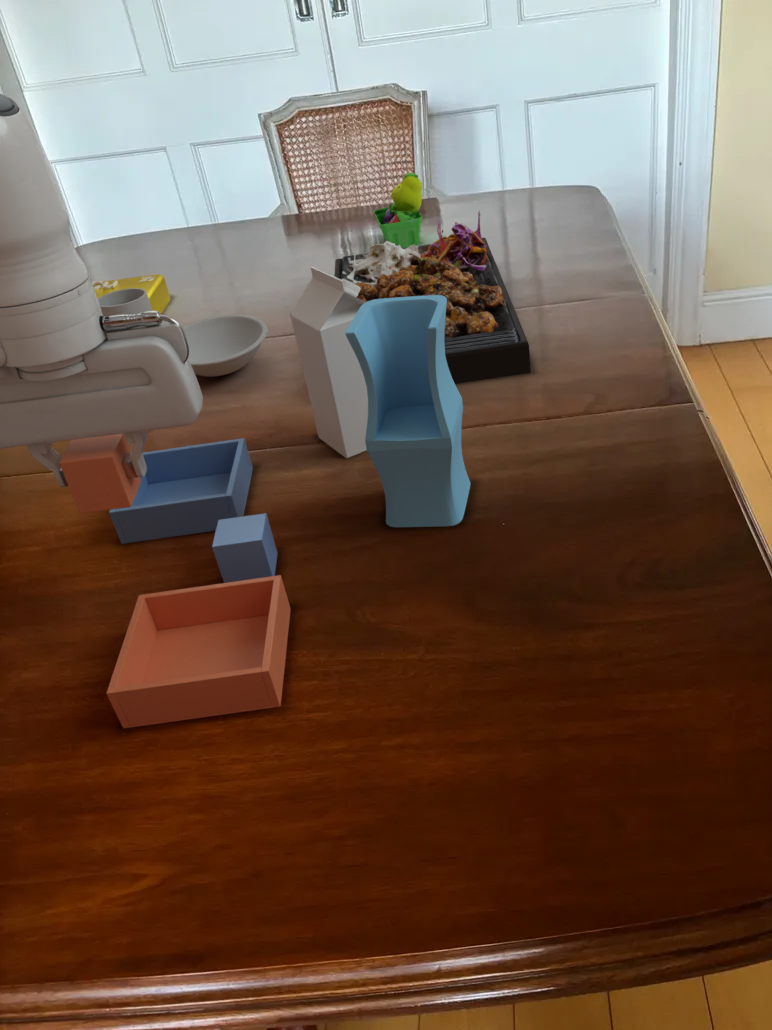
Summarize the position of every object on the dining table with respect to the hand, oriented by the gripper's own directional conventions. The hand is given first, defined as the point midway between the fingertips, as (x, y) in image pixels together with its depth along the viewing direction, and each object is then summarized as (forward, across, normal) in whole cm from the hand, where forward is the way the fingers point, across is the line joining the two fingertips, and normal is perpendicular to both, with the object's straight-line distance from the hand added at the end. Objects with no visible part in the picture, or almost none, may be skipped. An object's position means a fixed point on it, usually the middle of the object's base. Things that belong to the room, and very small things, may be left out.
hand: (103, 479), depth 78 cm
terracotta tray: (+11, -9, +14) cm, 20 cm away
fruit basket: (+11, -29, -98) cm, 103 cm away
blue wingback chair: (+11, -28, -6) cm, 30 cm away
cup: (+12, +13, -59) cm, 62 cm away
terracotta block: (+2, 0, 0) cm, 2 cm away
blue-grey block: (+11, -11, +1) cm, 15 cm away
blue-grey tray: (+11, -3, -13) cm, 17 cm away
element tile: (+12, +19, -78) cm, 81 cm away
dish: (+12, -2, -49) cm, 50 cm away
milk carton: (+11, -21, -23) cm, 33 cm away
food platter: (+11, -30, -56) cm, 64 cm away
